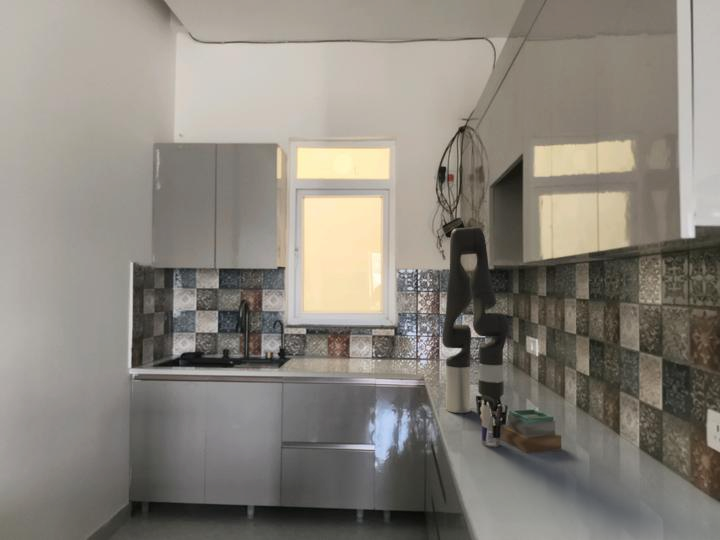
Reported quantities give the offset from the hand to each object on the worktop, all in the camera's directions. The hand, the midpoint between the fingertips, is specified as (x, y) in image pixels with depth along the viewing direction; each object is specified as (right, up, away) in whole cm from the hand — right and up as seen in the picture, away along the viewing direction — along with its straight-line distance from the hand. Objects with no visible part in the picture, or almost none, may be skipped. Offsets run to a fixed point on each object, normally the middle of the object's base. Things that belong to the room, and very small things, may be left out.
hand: (491, 434), depth 136 cm
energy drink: (0, -3, 0) cm, 3 cm away
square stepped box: (+12, -3, 0) cm, 13 cm away
